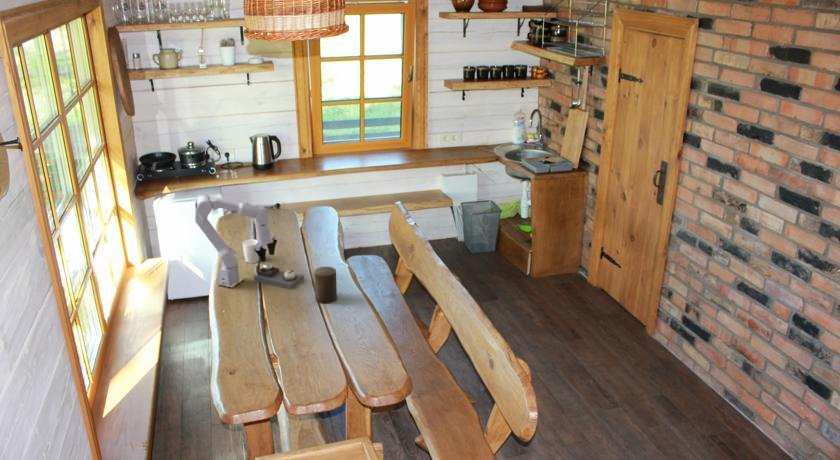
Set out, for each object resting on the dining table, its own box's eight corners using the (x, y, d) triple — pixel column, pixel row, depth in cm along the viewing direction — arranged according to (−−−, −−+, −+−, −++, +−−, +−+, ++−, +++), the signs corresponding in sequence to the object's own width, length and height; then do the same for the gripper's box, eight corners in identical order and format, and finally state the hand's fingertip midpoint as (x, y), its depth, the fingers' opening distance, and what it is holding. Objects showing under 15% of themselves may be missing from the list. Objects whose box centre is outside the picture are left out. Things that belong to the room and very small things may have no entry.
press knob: (269, 271, 331) (268, 267, 330) (261, 269, 332) (261, 265, 332) (274, 267, 335) (274, 263, 334) (266, 266, 336) (266, 262, 335)
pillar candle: (333, 304, 312) (332, 273, 307) (312, 302, 314) (310, 271, 308) (339, 295, 321) (339, 264, 315) (319, 292, 323) (318, 262, 317)
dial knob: (291, 280, 327) (291, 275, 326) (282, 278, 329) (281, 273, 328) (297, 275, 331) (297, 271, 330) (288, 273, 333) (288, 269, 332)
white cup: (262, 258, 357) (260, 239, 353) (257, 264, 349) (255, 245, 346) (246, 257, 357) (245, 238, 354) (241, 263, 350) (240, 245, 346)
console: (290, 289, 325) (290, 280, 323) (254, 281, 332) (254, 272, 330) (303, 280, 334) (303, 271, 332) (268, 272, 342) (267, 263, 340)
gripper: (262, 238, 319) (267, 265, 325) (279, 226, 332) (283, 252, 337) (249, 237, 322) (253, 264, 327) (266, 224, 334) (270, 251, 339)
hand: (267, 258), depth 332 cm, fingers open, 7 cm apart
